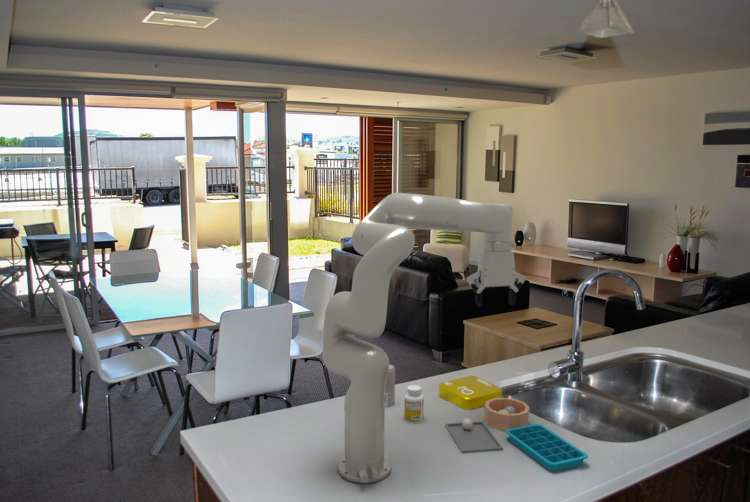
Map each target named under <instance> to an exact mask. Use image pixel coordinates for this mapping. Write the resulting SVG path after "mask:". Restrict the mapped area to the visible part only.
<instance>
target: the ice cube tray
mask: <svg viewBox="0 0 750 502" xmlns="http://www.w3.org/2000/svg"><path fill="white" fill-rule="evenodd" d="M504 432H505V434H506V435H508V440H509V442H510V443H512V444H513V445H515V446H516V447H517V448H518V449H520V450H521V451H522V452H524V454H527V456H530V457H531V458H532V460H534V461H536V462H537V463H539V464H540V465H541V466H543V467H544V468H546V470H547V471H551V472H556V471H557V472H558V471H561V470H562V471H563V470H566V469H570V468H574V467H575V468H581V467H583V465H584V460H587V459H588V458H589V455H588V454H587V453H586V452H585V451H583V450H581V449H580V448H578V447H576V446H575V445H573V444H572V443H570V441H569V442H568V440H566V439H564V438H563V437H561V435H559V434H557V433H555V432H554V431H553V430H551V429H549V428H547V427H546V426H544V425H543V424H539V423H534V424H528V426H522V427H517V428H512V429H507V430H506V431H504Z"/></svg>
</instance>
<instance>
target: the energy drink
mask: <svg viewBox="0 0 750 502" xmlns="http://www.w3.org/2000/svg"><path fill="white" fill-rule="evenodd" d="M395 392H396V368H395V366H394V365H393V364H391V363H389V372H388V376H387V381H386V387H385V408H386V407H387V408H388V407H392V406H394V405H395V402H396V396H395V395H396V393H395Z"/></svg>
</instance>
